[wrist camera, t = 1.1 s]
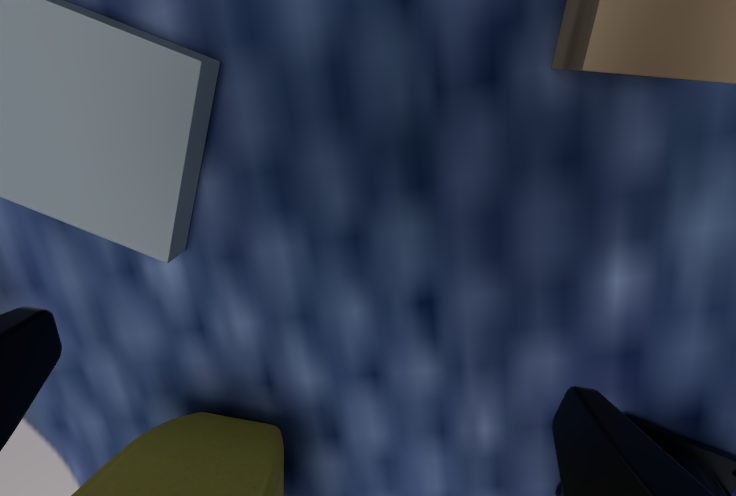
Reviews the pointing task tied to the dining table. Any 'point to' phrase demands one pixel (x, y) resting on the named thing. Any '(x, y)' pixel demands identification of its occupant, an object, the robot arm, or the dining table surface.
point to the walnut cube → (650, 38)
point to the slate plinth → (102, 123)
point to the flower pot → (196, 460)
